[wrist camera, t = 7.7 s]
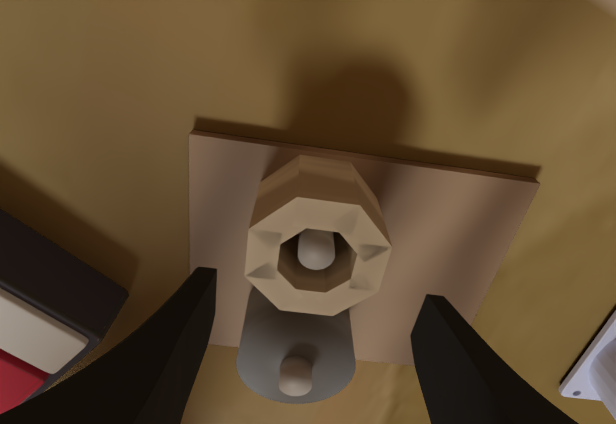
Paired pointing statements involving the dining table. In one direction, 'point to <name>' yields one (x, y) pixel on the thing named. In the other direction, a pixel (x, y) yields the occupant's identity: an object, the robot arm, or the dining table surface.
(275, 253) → the maple gear
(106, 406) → the robot arm
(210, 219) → the gear board
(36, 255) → the red white black box
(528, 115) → the dining table surface
